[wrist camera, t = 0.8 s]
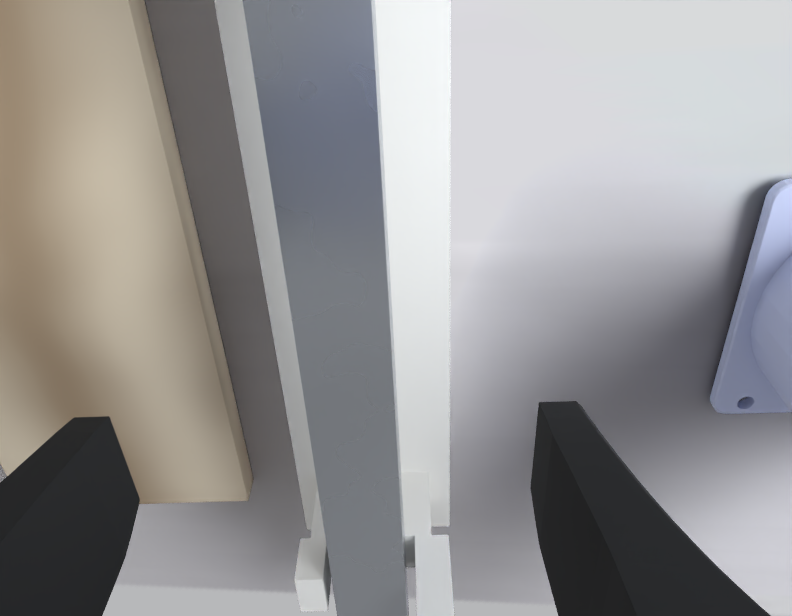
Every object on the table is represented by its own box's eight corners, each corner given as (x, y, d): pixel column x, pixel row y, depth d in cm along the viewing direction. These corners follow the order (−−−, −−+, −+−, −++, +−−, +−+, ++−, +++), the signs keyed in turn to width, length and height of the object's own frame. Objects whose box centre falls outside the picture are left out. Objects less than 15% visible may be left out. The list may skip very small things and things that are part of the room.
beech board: (94, -220, 13) (73, -226, 13) (253, 479, 24) (248, 501, 24) (-297, -199, 14) (-342, -203, 13) (35, 485, 25) (22, 507, 24)
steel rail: (349, -466, 9) (341, -525, 8) (408, 610, 22) (409, 658, 21) (198, -458, 9) (163, -514, 8) (347, 612, 22) (344, 659, 21)
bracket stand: (445, -307, 13) (486, -453, 7) (447, 492, 25) (462, 687, 19) (183, -293, 13) (3, -423, 7) (311, 496, 25) (285, 690, 19)
